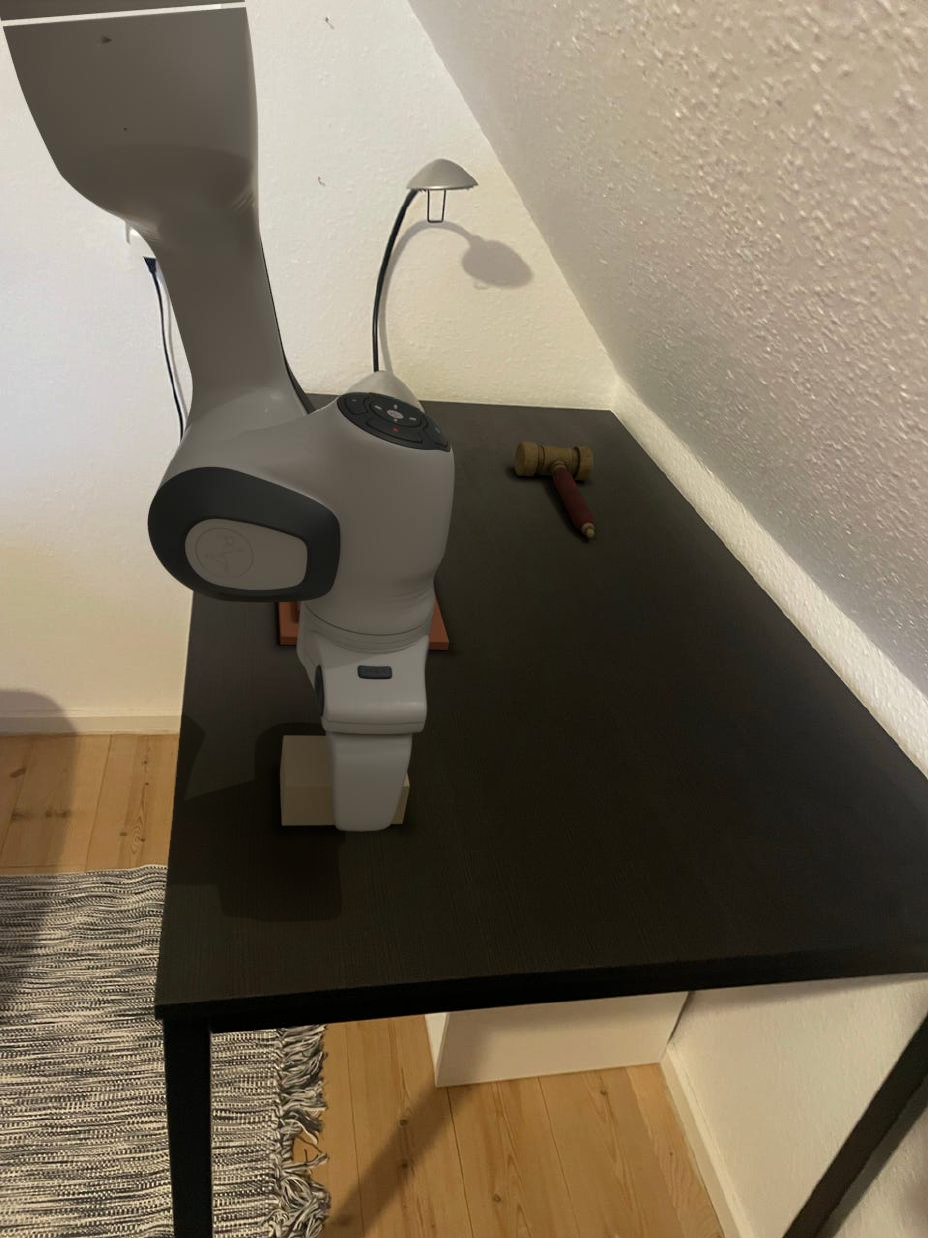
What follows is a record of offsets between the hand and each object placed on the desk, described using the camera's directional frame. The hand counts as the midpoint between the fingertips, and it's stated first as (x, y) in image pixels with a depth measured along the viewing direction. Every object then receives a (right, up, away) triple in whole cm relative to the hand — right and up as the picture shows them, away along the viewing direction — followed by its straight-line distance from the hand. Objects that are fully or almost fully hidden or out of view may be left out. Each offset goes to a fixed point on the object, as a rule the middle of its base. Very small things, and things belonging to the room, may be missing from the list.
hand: (342, 782), depth 72 cm
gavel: (+23, +27, +53) cm, 64 cm away
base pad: (-1, +14, +24) cm, 27 cm away
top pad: (0, -1, +1) cm, 2 cm away
